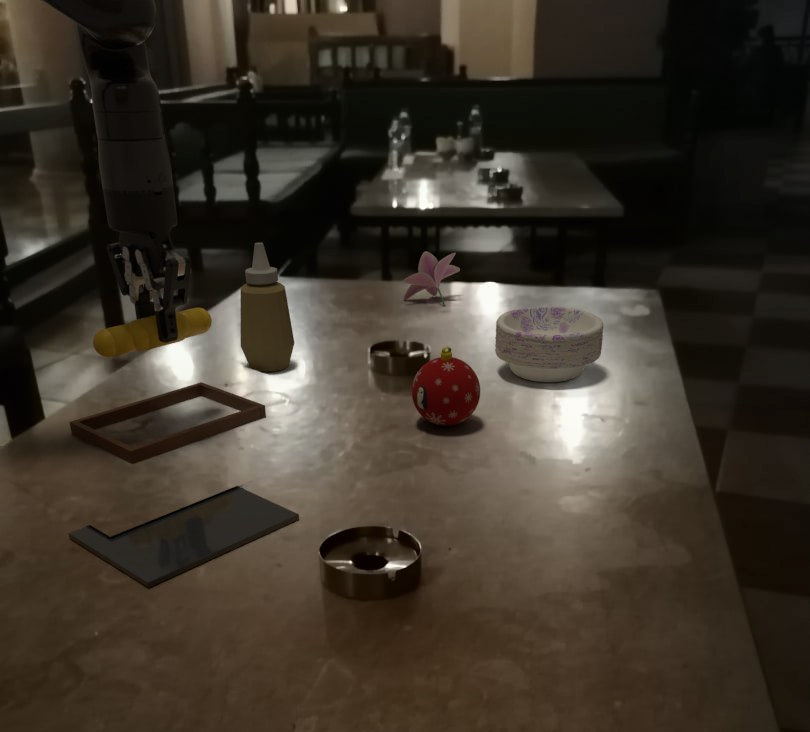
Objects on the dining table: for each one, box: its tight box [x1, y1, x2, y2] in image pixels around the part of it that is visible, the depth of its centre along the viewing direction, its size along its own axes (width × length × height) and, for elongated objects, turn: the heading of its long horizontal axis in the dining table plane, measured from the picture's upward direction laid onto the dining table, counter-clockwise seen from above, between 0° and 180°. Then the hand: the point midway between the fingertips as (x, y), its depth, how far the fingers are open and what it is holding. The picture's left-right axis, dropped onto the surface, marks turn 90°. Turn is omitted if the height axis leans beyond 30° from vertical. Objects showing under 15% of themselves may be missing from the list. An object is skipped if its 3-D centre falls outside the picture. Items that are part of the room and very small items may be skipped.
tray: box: [69, 381, 267, 465], centre depth 113 cm, size 20×14×2 cm
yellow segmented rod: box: [92, 307, 213, 358], centre depth 107 cm, size 16×4×4 cm, turn 137°
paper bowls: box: [494, 306, 604, 383], centre depth 131 cm, size 15×15×8 cm
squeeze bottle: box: [240, 242, 295, 372], centre depth 132 cm, size 8×8×18 cm
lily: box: [402, 250, 461, 307], centre depth 167 cm, size 12×12×10 cm
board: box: [68, 485, 300, 589], centre depth 91 cm, size 18×14×1 cm
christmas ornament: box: [411, 346, 481, 427], centre depth 113 cm, size 9×9×10 cm
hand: (158, 336), depth 107 cm, fingers closed on yellow segmented rod, 3 cm apart
